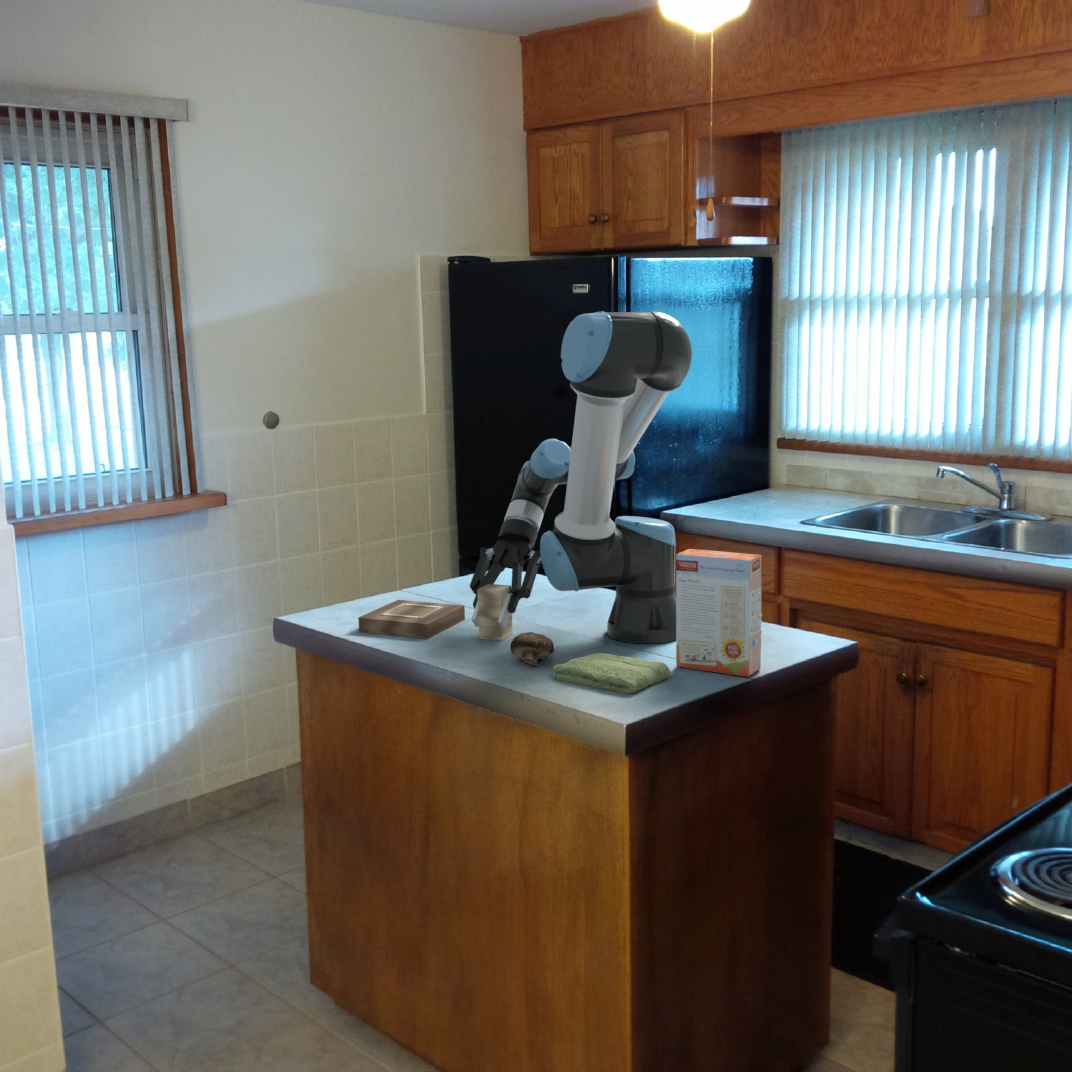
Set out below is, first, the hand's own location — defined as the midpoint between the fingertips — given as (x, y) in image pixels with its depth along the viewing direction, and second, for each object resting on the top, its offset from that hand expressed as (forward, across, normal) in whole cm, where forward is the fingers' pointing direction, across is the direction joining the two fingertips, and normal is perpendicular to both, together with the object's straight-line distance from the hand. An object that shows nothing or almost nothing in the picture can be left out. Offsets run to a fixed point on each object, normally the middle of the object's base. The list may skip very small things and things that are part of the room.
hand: (488, 624), depth 226 cm
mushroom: (+10, -14, +5) cm, 18 cm away
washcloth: (+13, -31, +7) cm, 34 cm away
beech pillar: (0, 0, -5) cm, 5 cm away
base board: (-1, +20, -6) cm, 21 cm away
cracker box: (+5, -47, 0) cm, 47 cm away
